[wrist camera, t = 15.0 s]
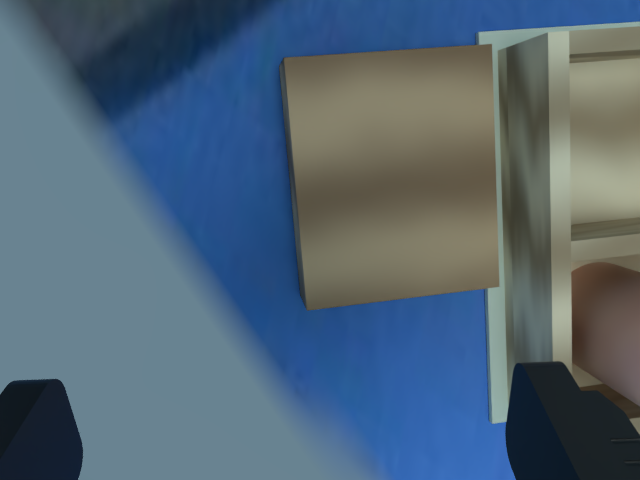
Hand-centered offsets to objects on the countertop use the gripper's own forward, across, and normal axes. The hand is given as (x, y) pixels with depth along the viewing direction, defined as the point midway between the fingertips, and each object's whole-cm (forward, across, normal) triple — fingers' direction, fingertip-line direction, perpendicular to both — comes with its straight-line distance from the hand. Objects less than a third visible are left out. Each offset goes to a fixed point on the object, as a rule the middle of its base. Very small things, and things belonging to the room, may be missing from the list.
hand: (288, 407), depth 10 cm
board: (+21, -4, +4) cm, 22 cm away
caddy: (+22, -15, +7) cm, 27 cm away
